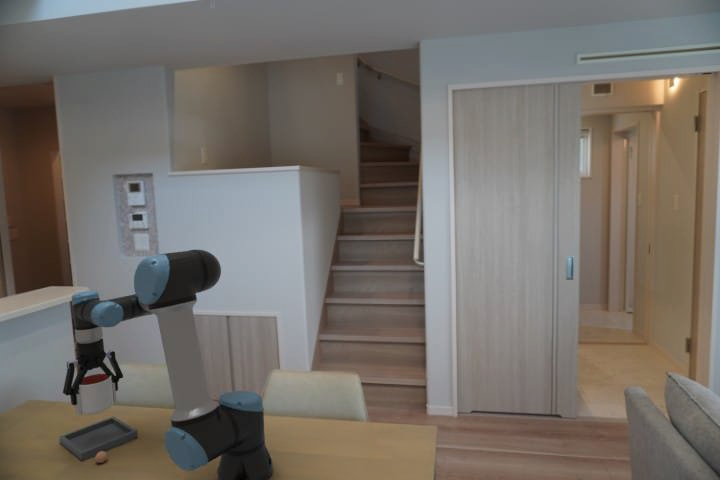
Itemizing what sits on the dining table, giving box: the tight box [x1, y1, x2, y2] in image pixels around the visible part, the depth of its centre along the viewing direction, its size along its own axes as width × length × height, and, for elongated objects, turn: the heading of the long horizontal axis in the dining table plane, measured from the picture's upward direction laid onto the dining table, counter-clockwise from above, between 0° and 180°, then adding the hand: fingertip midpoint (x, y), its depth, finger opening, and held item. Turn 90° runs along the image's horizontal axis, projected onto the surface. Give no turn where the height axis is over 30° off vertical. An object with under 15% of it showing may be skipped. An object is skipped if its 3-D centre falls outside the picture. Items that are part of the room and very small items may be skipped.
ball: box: [94, 451, 108, 464], centre depth 143 cm, size 3×3×3 cm
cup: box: [77, 373, 114, 416], centre depth 154 cm, size 10×10×10 cm
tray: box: [58, 416, 138, 462], centre depth 156 cm, size 17×17×2 cm
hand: (96, 407), depth 155 cm, fingers closed on cup, 10 cm apart
